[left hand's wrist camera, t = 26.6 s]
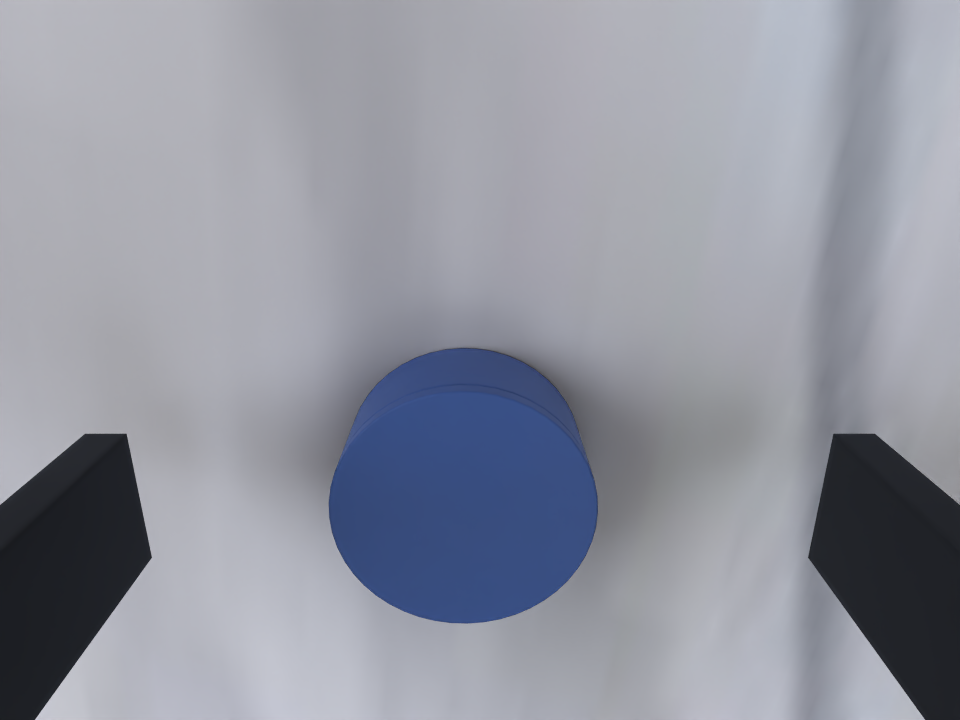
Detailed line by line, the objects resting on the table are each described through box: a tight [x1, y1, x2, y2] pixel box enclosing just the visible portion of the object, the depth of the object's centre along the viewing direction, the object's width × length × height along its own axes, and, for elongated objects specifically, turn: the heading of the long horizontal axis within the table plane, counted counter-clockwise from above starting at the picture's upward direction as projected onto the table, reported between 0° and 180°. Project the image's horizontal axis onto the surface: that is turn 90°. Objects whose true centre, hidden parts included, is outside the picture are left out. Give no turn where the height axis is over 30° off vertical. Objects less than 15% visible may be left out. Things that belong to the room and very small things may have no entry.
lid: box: [329, 348, 598, 623], centre depth 14 cm, size 5×5×2 cm
